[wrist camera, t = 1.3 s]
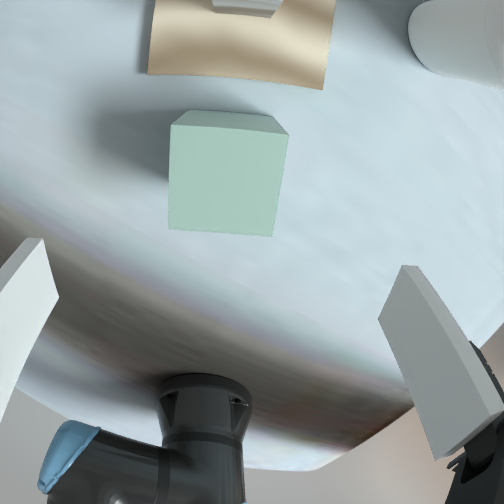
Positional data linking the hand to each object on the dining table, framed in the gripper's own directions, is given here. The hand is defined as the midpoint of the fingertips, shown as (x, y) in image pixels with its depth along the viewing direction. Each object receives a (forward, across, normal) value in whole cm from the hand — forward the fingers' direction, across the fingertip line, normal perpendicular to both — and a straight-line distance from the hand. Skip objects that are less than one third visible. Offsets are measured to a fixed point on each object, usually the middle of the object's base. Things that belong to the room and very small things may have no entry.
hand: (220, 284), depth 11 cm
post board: (+18, 0, -14) cm, 23 cm away
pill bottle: (+18, -18, -15) cm, 30 cm away
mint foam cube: (+18, 0, 0) cm, 18 cm away
